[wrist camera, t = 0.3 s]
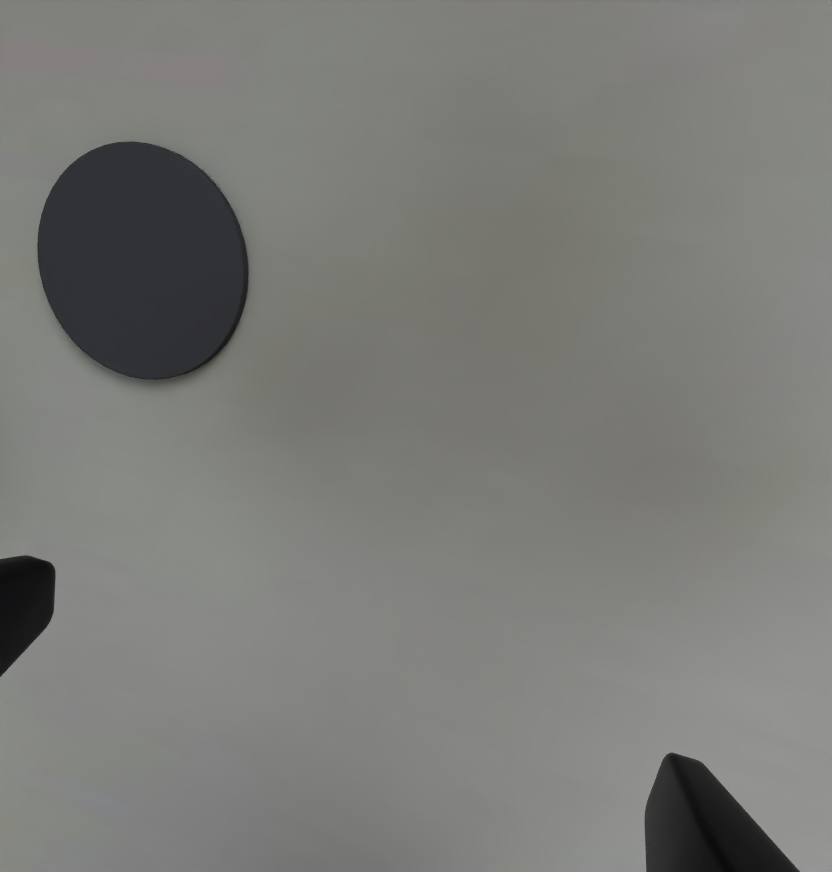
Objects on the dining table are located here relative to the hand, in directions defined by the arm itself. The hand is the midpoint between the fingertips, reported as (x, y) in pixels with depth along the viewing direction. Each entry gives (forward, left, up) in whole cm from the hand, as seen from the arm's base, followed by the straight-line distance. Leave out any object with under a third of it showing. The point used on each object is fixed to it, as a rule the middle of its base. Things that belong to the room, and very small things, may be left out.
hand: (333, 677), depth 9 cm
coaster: (+3, +13, -14) cm, 20 cm away
